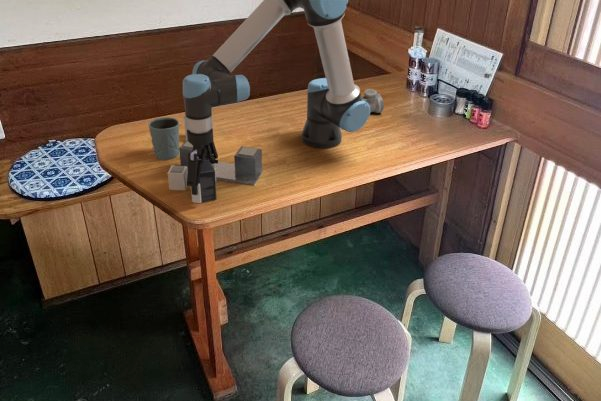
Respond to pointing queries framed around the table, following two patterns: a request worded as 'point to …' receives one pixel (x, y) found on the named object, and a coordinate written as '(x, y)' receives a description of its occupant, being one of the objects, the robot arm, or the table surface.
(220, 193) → the table surface
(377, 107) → the pipe fitting
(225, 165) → the rail plate
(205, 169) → the box
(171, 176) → the block
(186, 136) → the white slotted bracket
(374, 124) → the table surface
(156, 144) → the grey green plant pot
